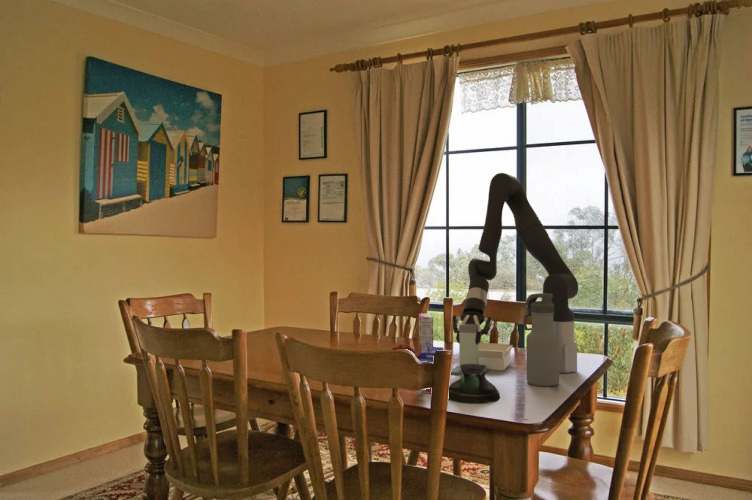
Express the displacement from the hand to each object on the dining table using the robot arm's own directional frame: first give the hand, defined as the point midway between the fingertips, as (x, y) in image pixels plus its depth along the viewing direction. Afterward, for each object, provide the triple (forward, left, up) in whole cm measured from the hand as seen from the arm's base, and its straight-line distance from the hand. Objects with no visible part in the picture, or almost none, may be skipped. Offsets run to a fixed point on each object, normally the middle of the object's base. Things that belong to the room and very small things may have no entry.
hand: (467, 342), depth 205 cm
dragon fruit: (+23, +12, -11) cm, 28 cm away
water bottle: (-24, -9, -11) cm, 28 cm away
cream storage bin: (+5, -14, -10) cm, 18 cm away
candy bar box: (+29, -4, -11) cm, 31 cm away
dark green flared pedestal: (-24, +19, -11) cm, 32 cm away
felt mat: (+1, -1, -10) cm, 11 cm away
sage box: (+1, -1, -8) cm, 8 cm away
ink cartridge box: (-11, +24, -11) cm, 28 cm away
